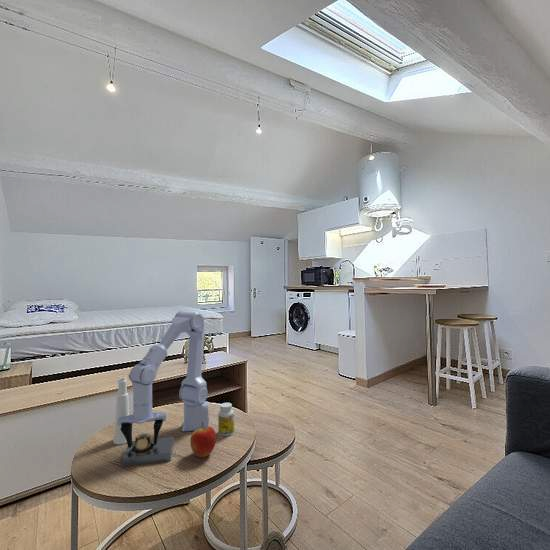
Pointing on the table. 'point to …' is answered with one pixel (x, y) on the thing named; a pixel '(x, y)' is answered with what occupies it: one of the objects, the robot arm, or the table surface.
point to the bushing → (142, 443)
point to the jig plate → (150, 453)
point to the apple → (203, 441)
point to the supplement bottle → (226, 419)
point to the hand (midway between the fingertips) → (142, 444)
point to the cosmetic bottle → (121, 410)
